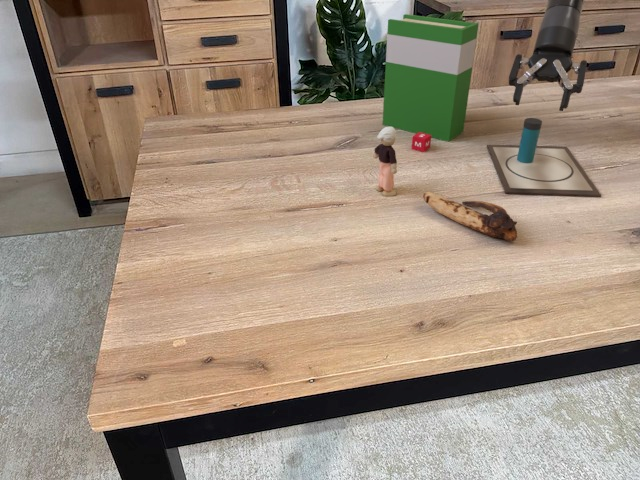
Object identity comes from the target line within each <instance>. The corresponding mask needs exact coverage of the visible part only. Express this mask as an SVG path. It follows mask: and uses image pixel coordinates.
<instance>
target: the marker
mask: <svg viewBox="0 0 640 480" xmlns="http://www.w3.org/2000/svg"><path fill="white" fill-rule="evenodd" d="M542 125H543V120H541V119H539V118H536V117H527V118H525V119H524V121H523V127H522V131H521V137H520V142H519V145H520V146H519V151H518V156H517V160H518V161H519V162H522V163H532V162H533V160H534V155H535V151H536V146H538V142H539V137H540V133H541V129H542Z"/></svg>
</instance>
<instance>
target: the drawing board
mask: <svg viewBox="0 0 640 480" xmlns="http://www.w3.org/2000/svg"><path fill="white" fill-rule="evenodd" d="M519 146H520V144H519V145H518V144H486V148H487V151H488V153H489V156H490V158H491V161H492V163H493V166H494V169H495V171H496V173H497V176H498V178H499V181H500V184H501V186H502V188H503V191H504V193H505V195H520V196H521V195H524V196H526V195H528V196H530V195H531V196H554V197H555V196H556V197H586V198H601V196H602V194H601V193H600V191H599V190H598V188H597V187H596V185H595V184H594V182H592V180H591V179H590V176H589V175H588V174H587V172H586V171H585V170H584V169H583V167H582V166H581V165H580V163H579V161H577V159H576V157H575V156H574V154H573V153H572V151H571V150H570V149H569V148H568V146H562V145H561V146H560V145H537V146H536V151H535V155H534V160H533V162H532V163H522V162H519V161H518V160H517V156H518V151H519Z"/></svg>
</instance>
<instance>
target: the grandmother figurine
mask: <svg viewBox="0 0 640 480" xmlns="http://www.w3.org/2000/svg"><path fill="white" fill-rule="evenodd" d="M396 131H397V130H396V128H394V127H390V126H385V127H383V128H382V129H381V130H380V131H379V132H378V134H377V135H376V139H377V140H379V141H381V143H380V144H378V145H377V146H376V147H374V152H373V154H372V155H373V156H372V157H373V158H374V159H378V161H379V168H378V185H377V186H376V187H375V191H377V192H381V195H382V196H383V197H394V196H397V194H398V193H397V190H396V189H395V188H393V187H395V178H394V177H395V174H397V173H398V169H397V168H398V166H397V164H398V161H397V156H396V150H395V148H394V147H393V145H394V144H395V143H396V134H397V132H396Z"/></svg>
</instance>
